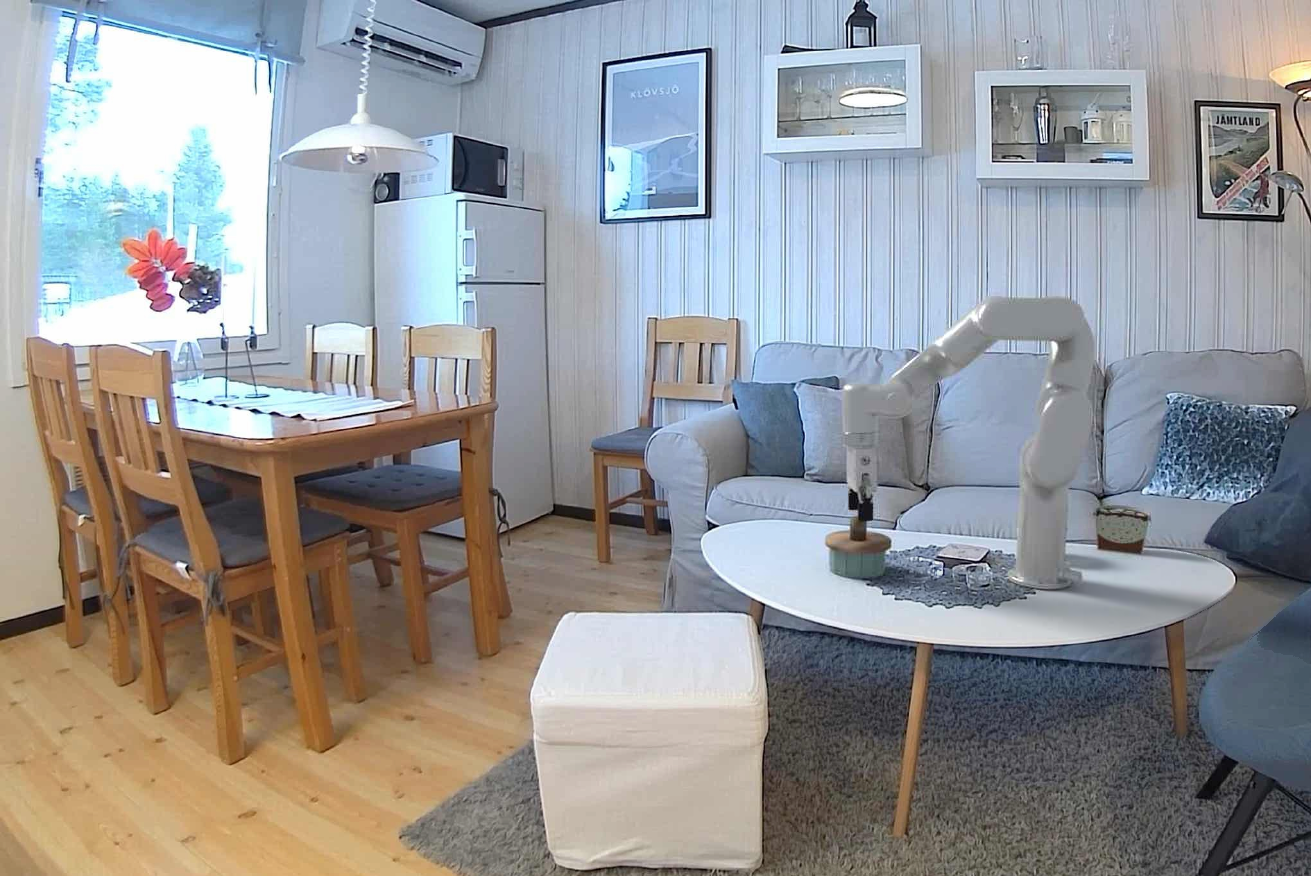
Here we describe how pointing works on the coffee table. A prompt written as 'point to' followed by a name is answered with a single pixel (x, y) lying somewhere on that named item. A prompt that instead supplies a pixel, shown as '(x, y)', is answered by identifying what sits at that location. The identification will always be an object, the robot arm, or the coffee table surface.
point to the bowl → (857, 564)
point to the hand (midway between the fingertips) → (860, 515)
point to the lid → (858, 539)
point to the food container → (1121, 528)
